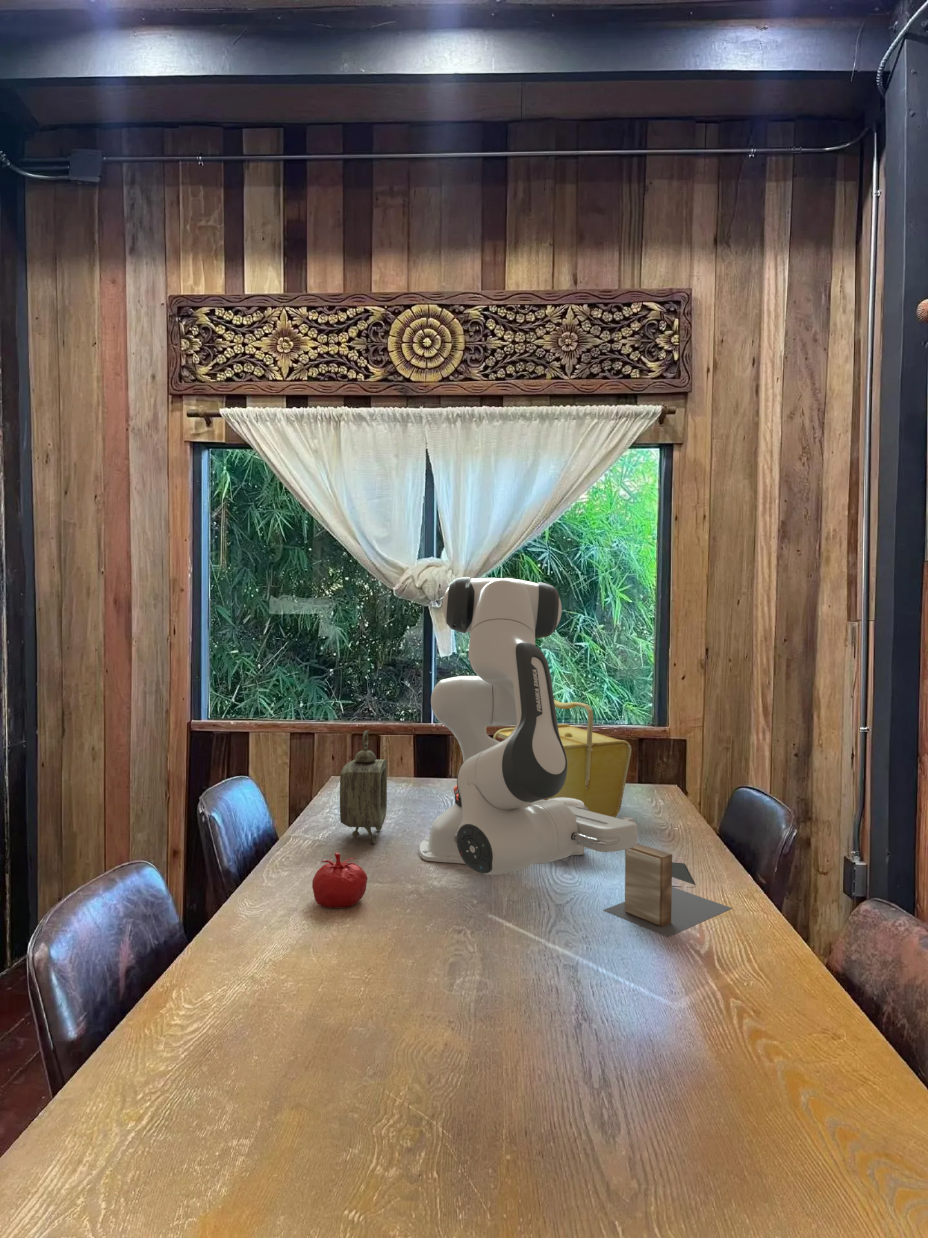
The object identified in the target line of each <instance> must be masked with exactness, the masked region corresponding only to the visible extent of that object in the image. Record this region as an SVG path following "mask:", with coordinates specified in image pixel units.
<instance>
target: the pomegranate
mask: <svg viewBox="0 0 928 1238" xmlns="http://www.w3.org/2000/svg"><path fill="white" fill-rule="evenodd" d="M334 857H335V862H333V861H331V859H326V860H321V862H322V863H326V864H323V865H322V866H321V867H320V868H319V869H318V870H317V871H316V872H315V874H314V876H313V879H312V883H311V884H312V892H313V897H314V900H315V902H316V903H317V905H318V906H321V907H322V908H328V909H329V908H330V909H340V908H341V909H347V908H350V907H352V906H354V905H356V904H358V903H359V902H360V901H361V900H362V899H363V897H364V895H365V894H366V890H367V883H368V875H367V873H366V871H365V870H364V869H363V868H362V867H361V866H360V865H359V864H356V863H355V862H349V861H350V860H356V859H357V858H356V857H354V858H353V857H351V858H348V859H345V860H344V861H343V862H342V861H341V853H339V852H334Z"/></svg>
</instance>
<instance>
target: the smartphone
mask: <svg viewBox="0 0 928 1238" xmlns="http://www.w3.org/2000/svg"><path fill="white" fill-rule="evenodd" d="M673 878H674V879H677V880H680V881H681V882H686V883H689V884H692V885H694V886H691V887H690V886H687V888H690V889H691V888H692V889H693V888H696V883H695V881H694V878H693V877H692V875H691V873H690V871H689V869H688V867H687V864H686V863H683V862H674V861H672V879H673ZM672 887H674V888H681V886H677V885H672Z"/></svg>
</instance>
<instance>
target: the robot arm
mask: <svg viewBox="0 0 928 1238" xmlns="http://www.w3.org/2000/svg"><path fill="white" fill-rule="evenodd" d="M442 599H443V600H442V612H443V617H444V619H445V622H446V623H445V624H446V625H448V627H449V628H450V629H451V630H453V631H455V632H459V633H462V634H466V633H469V644H468V661H469V663H470V667H471V668H472V670H473V672H474V673H475V674H476V675H458V676H451V677H448V678H443V679H440V680H439V681H438V682H437V683H436V685H434V687H433V689H432V692H431V696H430V705H431V710H432V713H433V715H434V716H435V718H436V719H437V720H438V721H439V722H440V723H441V724H442V725H444V726H445V727H446V728H447V729H448V730H449V731H451V733H452V735H454V737H455V738H456V740H457V742H458V745H459V747H460V751H461V755H462V761H463V762H462V764H461V765H460V767H459V769H458V771H457V776H456V785H454V787H453V794H454V804H453V805H452V806H451V807H449V808H448V809H447V810H445V811H444V812H442V813H441V814H440V815H438V816H437V817H436V818H435V819H434V820H433V822H432V824H431V827H430V830H429V836H428V837H427V838H424V839H423V840H422V841H421V842H420V844H419V850H418V851H419V852H418V854H419V857H420V858H422V859H423V860H424V861H429V862H437V863H438V862H440V863H452V864H465V865H466V866H467V867H469V868H470V869H471V870H473V872H476V873H478V874H481V875H487V876H494V875H496V876H498V875H505V874H510V873H515V872H519V871H522V870H525V869H528V868H529V867H531V866H532V865H544V864H547V863H552V862H554V861H558V860H561V859H565V858H568V857H569V856H572V855H571V854H572V853H573V851H574V850H575V848H576V846H577V845H579V846H582V847H584V849H585V848H586V849H589V850H592V851H596V852H600V853H612V852H613V853H614V852H619V851H625V849H630V848H633V847H635V846H636V844H637V843H638V834H639V833H638V825H637V823H636V822H635V818H632V817H630V816H624V817H619V818H618V817H611V816H607V815H603V814H599V813H595V812H591V811H588V807H585V806H581V805H580V806H568V805H565V804H564V803H562V802H560V801H557V800H549V801H548V800H542V799H546V798H549V797H552V796H554V795H556V794H557V793H558V792H559V791H560V790H561V789H562V787H563V785H564V783H565V779H566V775H567V766H568V765H567V757H566V753H565V750H564V747H563V744H562V741H561V739H560V735H559V730H558V724H559V723H558V719H557V711H556V707H555V703H554V699H555V698H554V697H555V696H554V690H553V684H552V683H553V682H552V678H551V671H550V668H549V663H548V660H547V657H546V656H545V654H544V652H543V651H542V649H540V648H539V647H538V646H537V645H536V639H542V638H548V637H550V636H551V635H552V634H554V633H555V631H556V629H557V627H558V625H559V623H560V621H561V617H562V613H563V612H562V611H563V610H562V609H563V607H562V601H561V598H560V594H559V591H558V590H557V589H556V588H555V587H554V585H552V584H549V583H546V582H542V581H538V582H533V581H529V580H524V579H516V578H512V577H511V578H510V577H504V578H502V577H498V578H497V577H478V578H477V577H476V578H471V577H470V576H463V577H457V578H454V579H453V580H452V581H451V582H450V583H449V586H448V588H447V589H446V591H445V592H444V594H443V598H442ZM492 726H494V727H497V726H503V727H504V726H515V727H514V728H515V729H514V730H513V732H512V733H511V734H510V735H509V736H508V737H507V738H506V739H505V740H503V741H502V742H499V741H497V740H495V739H493V737H491V736H489V734H488V733H487V728H488V727H492Z"/></svg>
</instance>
